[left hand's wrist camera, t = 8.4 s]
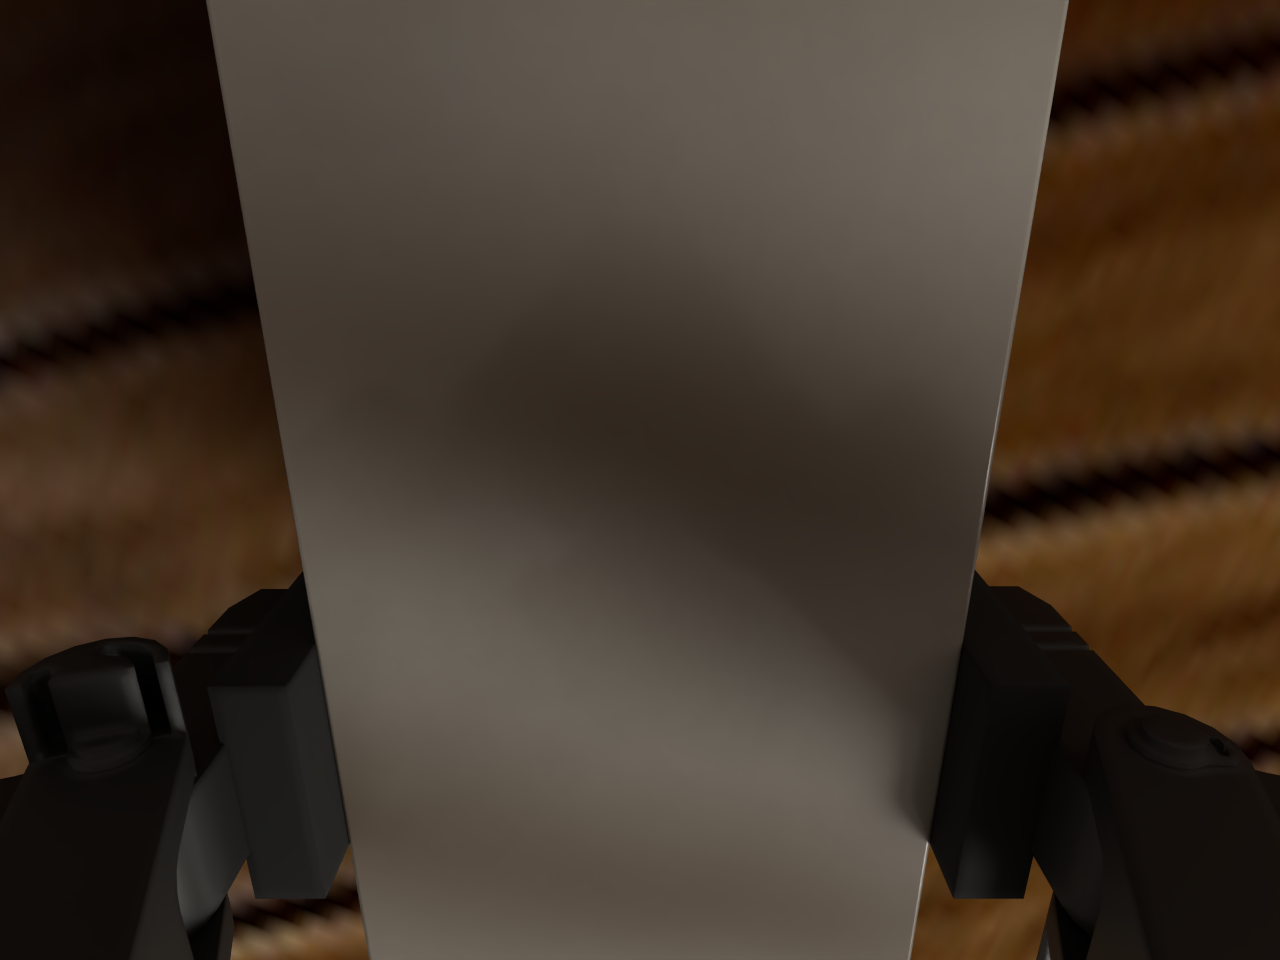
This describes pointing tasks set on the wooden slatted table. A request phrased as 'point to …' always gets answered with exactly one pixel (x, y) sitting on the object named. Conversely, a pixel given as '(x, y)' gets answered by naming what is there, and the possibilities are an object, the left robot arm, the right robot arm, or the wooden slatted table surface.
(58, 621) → the wooden slatted table surface
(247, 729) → the left robot arm
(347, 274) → the cabinet
